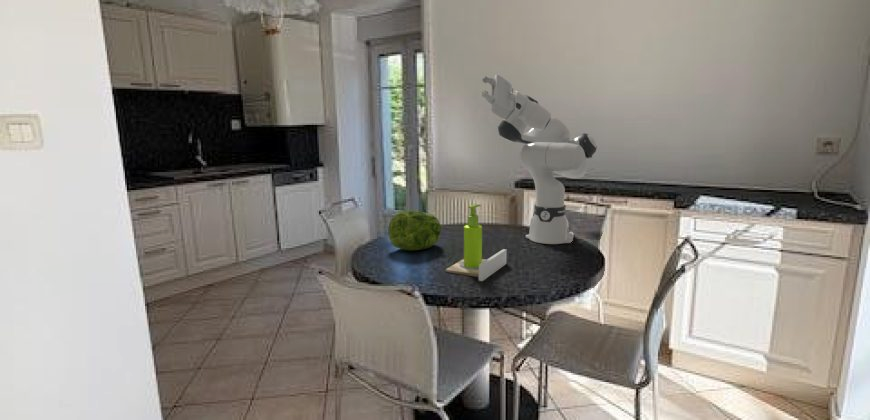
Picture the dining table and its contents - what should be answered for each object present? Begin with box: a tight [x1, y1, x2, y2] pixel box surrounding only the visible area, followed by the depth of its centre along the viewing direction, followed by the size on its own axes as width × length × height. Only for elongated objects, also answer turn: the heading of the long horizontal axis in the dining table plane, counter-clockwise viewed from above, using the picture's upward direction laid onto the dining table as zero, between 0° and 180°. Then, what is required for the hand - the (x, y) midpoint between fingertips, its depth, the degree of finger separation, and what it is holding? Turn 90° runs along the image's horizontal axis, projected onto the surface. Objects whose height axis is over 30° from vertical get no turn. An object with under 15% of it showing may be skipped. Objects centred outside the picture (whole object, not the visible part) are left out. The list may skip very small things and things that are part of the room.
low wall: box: [478, 248, 508, 282], centre depth 151 cm, size 20×1×5 cm, turn 151°
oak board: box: [445, 258, 487, 278], centre depth 156 cm, size 16×12×1 cm
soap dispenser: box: [463, 203, 483, 268], centre depth 154 cm, size 6×7×20 cm
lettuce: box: [387, 210, 443, 252], centre depth 179 cm, size 16×21×15 cm
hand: (483, 85), depth 172 cm, fingers open, 8 cm apart
